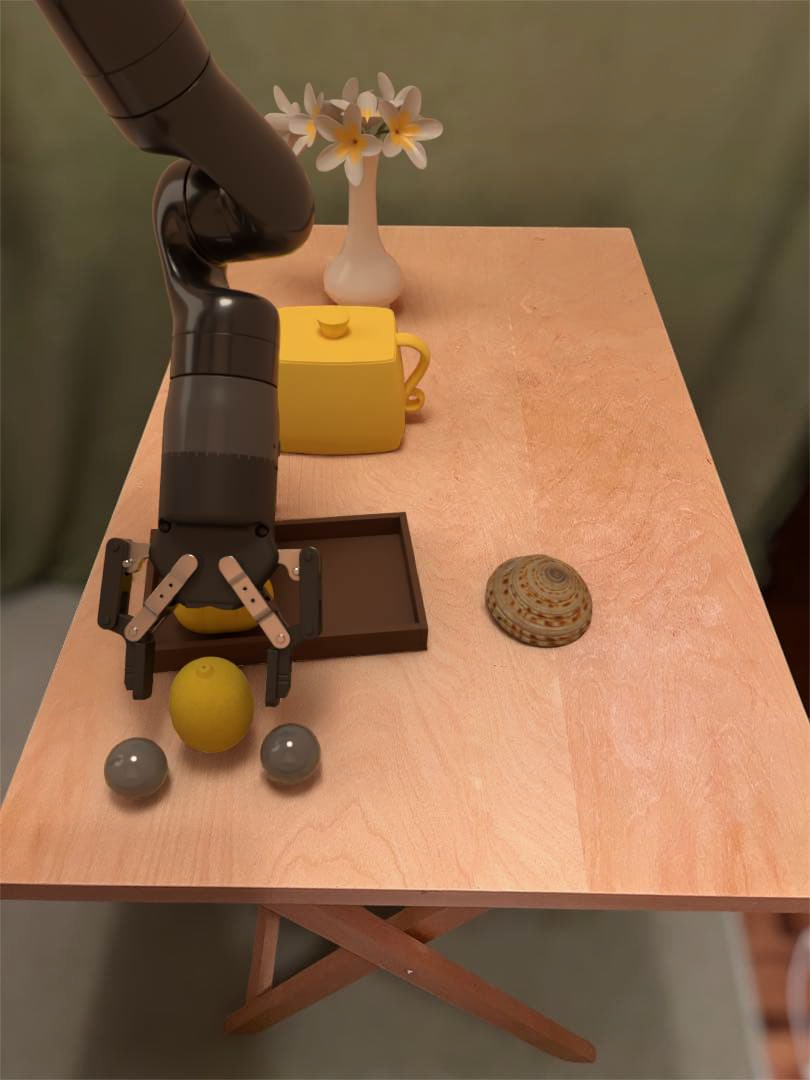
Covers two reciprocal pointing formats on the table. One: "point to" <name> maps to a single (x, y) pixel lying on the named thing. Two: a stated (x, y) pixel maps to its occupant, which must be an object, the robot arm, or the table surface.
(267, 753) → the stone right
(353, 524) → the tray
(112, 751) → the glossy gray ball
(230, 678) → the lemon
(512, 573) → the seashell
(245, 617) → the yellow ribbed oblong body
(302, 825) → the table surface
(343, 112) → the flower vase
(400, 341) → the teapot
